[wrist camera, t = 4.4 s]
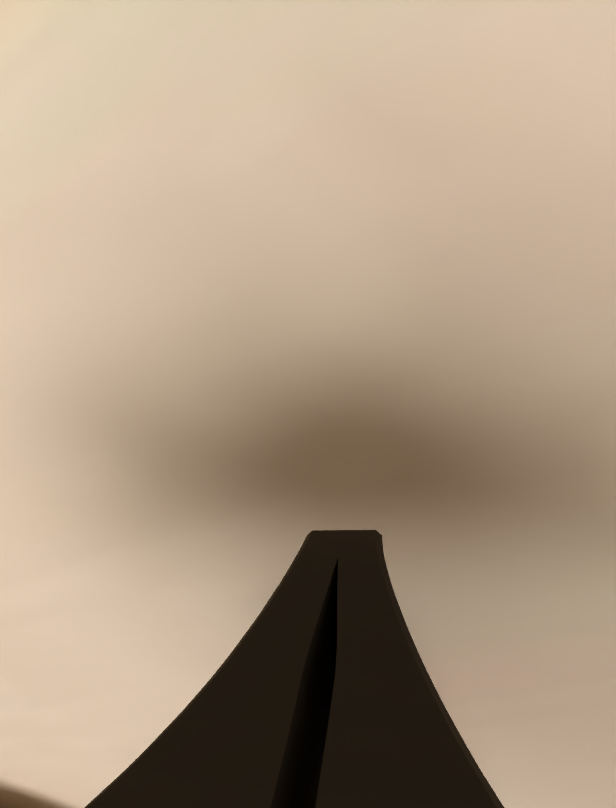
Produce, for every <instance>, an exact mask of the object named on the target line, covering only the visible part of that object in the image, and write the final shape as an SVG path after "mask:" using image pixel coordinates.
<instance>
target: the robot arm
mask: <svg viewBox="0 0 616 808" xmlns="http://www.w3.org/2000/svg"><path fill="white" fill-rule="evenodd" d="M85 808H504V807H503V805H502V804H501V802H500V800H499V799H498V797H497V796H496V794H495V792H494V791H493V789H492V788H491V786H490V784H489V783H488V781H487V780H486V778H485V777H484V775H483V773H482V772H481V770H480V768H479V767H478V765H477V763H476V762H475V760H474V758H473V756H472V755H471V753H470V751H469V749H468V748H467V746H466V744H465V742H464V741H463V739H462V737H461V735H460V734H459V732H458V730H457V728H456V727H455V725H454V723H453V721H452V719H451V717H450V715H449V714H448V712H447V710H446V708H445V706H444V704H443V702H442V701H441V699H440V697H439V695H438V693H437V691H436V689H435V687H434V685H433V683H432V681H431V679H430V677H429V675H428V673H427V671H426V668H425V666H424V664H423V662H422V660H421V657H420V655H419V653H418V651H417V649H416V647H415V644H414V642H413V640H412V637H411V635H410V633H409V630H408V628H407V625H406V623H405V620H404V618H403V615H402V612H401V610H400V607H399V604H398V602H397V599H396V597H395V594H394V591H393V588H392V585H391V581H390V578H389V574H388V571H387V567H386V563H385V559H384V554H383V544H382V535H381V534H380V533H379V532H377V531H376V530H323V531H312V532H310V533H309V534H308V535H307V537H306V539H305V541H304V543H303V545H302V547H301V548H300V550H299V552H298V554H297V556H296V557H295V559H294V561H293V563H292V564H291V566H290V568H289V569H288V571H287V573H286V574H285V576H284V578H283V579H282V581H281V582H280V584H279V586H278V587H277V589H276V590H275V592H274V593H273V595H272V596H271V598H270V599H269V601H268V602H267V604H266V605H265V607H264V608H263V610H262V611H261V613H260V614H259V616H258V617H257V619H256V620H255V621H254V623H253V624H252V626H251V627H250V628H249V630H248V631H247V632H246V634H245V635H244V636H243V638H242V639H241V640H240V642H239V643H238V644H237V646H236V647H235V648H234V650H233V651H232V652H231V654H230V655H229V656H228V658H227V659H226V660H225V662H224V663H223V664H222V665H221V667H220V668H219V669H218V670H217V671H216V673H215V674H214V675H213V676H212V678H211V679H210V680H209V681H208V682H207V684H206V685H205V686H204V687H203V688H202V689H201V691H200V692H199V693H198V694H197V695H196V696H195V697H194V699H193V700H192V701H191V702H190V703H189V704H188V705H187V707H186V708H185V709H184V710H183V711H182V712H181V713H180V714H179V715H178V716H177V717H176V718H175V720H174V721H173V722H172V723H171V724H170V725H169V726H168V727H167V728H166V729H165V730H164V731H163V732H162V733H161V734H160V735H159V736H158V738H157V739H156V740H155V741H154V742H153V743H152V744H151V745H150V746H149V747H148V748H147V749H146V750H145V751H144V752H143V753H142V754H141V755H140V756H139V757H138V758H137V759H136V760H135V761H134V762H133V763H132V764H131V765H130V766H129V767H128V768H127V769H126V770H125V771H124V772H123V773H122V774H121V775H119V776H118V777H117V778H116V779H115V780H114V781H113V782H112V783H111V784H110V785H109V786H107V787H106V788H105V789H104V790H103V791H102V792H101V793H100V794H99V795H98V796H97V797H96V798H94V799H93V800H92V801H91V802H90V803H89V804H88V805H87V806H86V807H85Z"/></svg>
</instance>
